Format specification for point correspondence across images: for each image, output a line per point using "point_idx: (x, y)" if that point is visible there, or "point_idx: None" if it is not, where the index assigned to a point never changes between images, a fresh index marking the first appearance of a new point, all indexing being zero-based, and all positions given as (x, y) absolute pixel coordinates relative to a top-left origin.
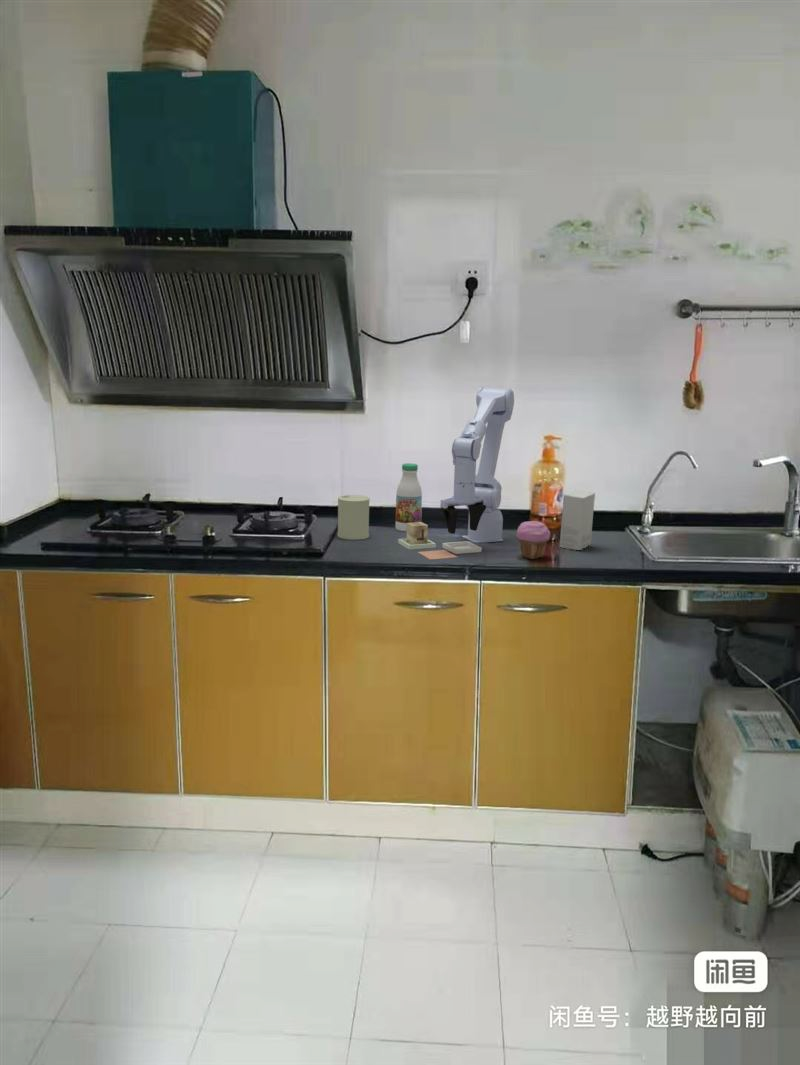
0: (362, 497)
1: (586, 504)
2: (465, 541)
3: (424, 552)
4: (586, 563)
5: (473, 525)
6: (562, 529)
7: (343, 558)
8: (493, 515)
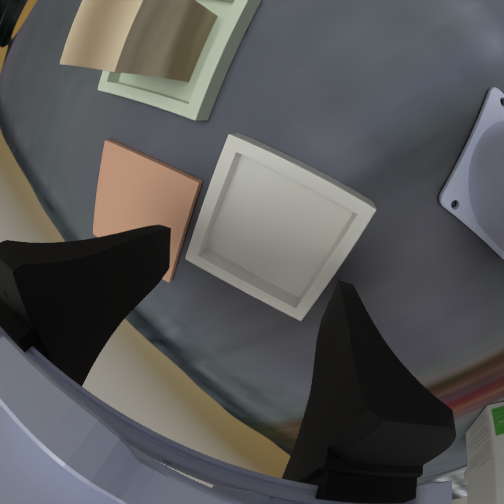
0: None
1: None
2: (358, 201)
3: (116, 160)
4: None
5: (324, 329)
6: (490, 449)
7: (10, 88)
8: None
